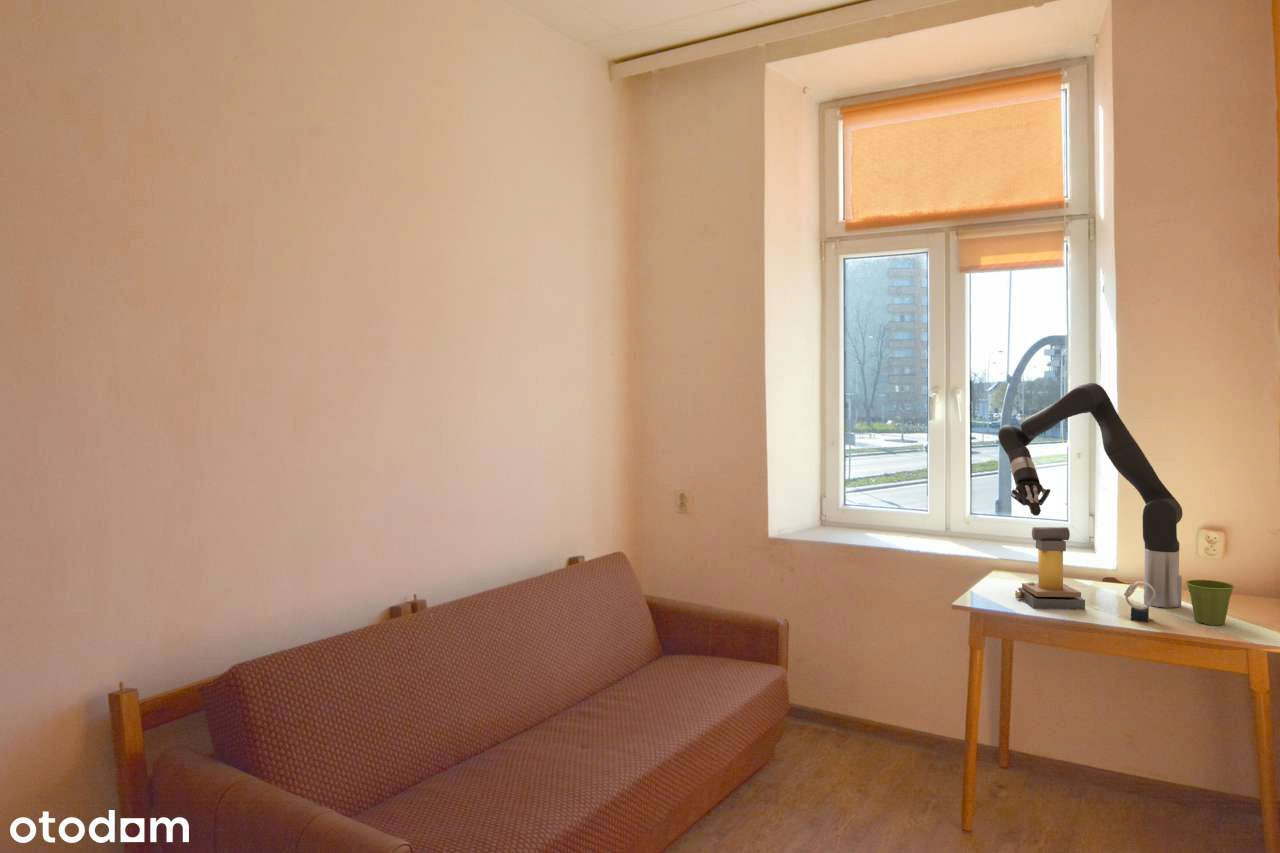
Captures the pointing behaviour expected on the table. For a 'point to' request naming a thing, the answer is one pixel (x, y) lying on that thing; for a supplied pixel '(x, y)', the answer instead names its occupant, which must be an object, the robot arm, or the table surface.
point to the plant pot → (1210, 600)
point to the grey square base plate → (1050, 601)
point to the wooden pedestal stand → (1050, 563)
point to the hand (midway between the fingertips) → (1036, 514)
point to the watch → (1137, 611)
